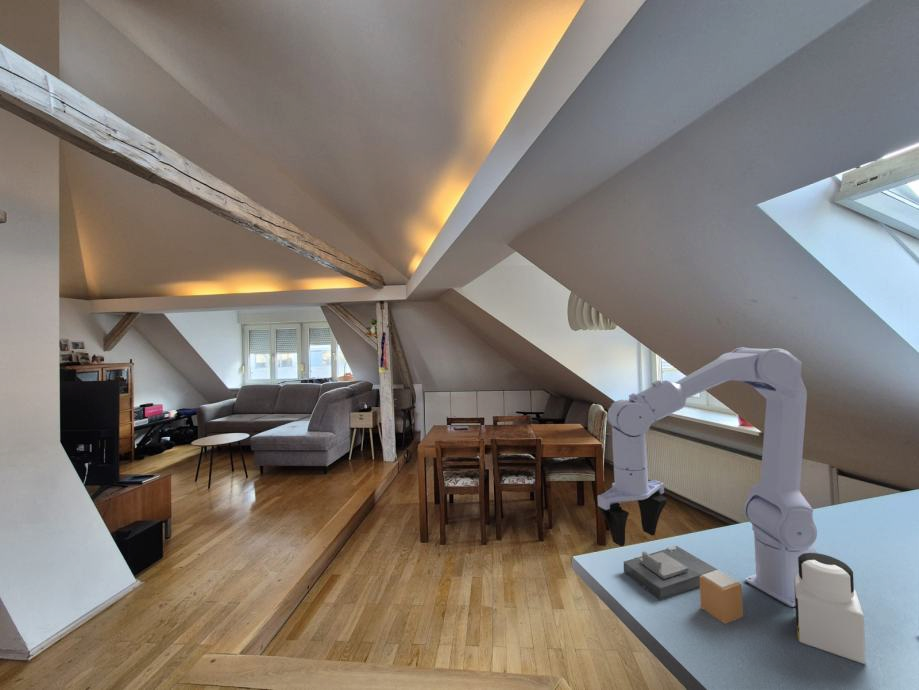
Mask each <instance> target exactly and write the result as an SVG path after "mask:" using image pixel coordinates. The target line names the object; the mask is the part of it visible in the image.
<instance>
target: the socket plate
mask: <svg viewBox="0 0 919 690" xmlns="http://www.w3.org/2000/svg"><path fill="white" fill-rule="evenodd" d="M660 552H663V553H665V554H666V555H668V556H670V557H671V558H673V559H674V560H676V561H678V562H679V563H681V564H683V565H684V566H686V567H687V568H688V571H687V572H684V573H681V574H678V575H675V576H672V577H669V578H666V579H663V578H662V577H660V576H659V575H657V574H656V573H654V572H653V571H651V570H650V569H649V568H647V567H646V566H644V565H643V564H641V563H640V562H639V559H640V558H643V557H642V555H641V556H639V557H635V558H632V559H628V560H625V561H624V560H623V572H624V574H626V575H627V576H628V577H629V578H631V580H634V581H635V582H636V583H637V584H638V585H640V586H641V587H642V588H644V589H645V590H646V591H648V592H649V593H650V594H652V596H654V597H655V598H656V599H658V600H659V601H663V600H666V599H669V598H672V597H675V596H677V594H678V595H680V593H681V594H683V592H684V593H686V591H687V592H689V591H692V590H694V589H698V588H700V579H699V576H701V575H703V574H706V573H709V572H712V571H715V570H718V568H716V567H715V566H712V565H711V564H709V563H708V562H705V561H704V560H702V559H700V558H699V557H697V556H696V555H693V554H691V553H690V552H688V551H686V550H684V549H683V548H681V547H679V546H677V545H675V546H674V545H672V546H668V547H666V548H665V549H662V550H658V551H655V552H652V553H649V554H650V555H654V554H657V553H660ZM697 587H698V588H697Z"/></svg>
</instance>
